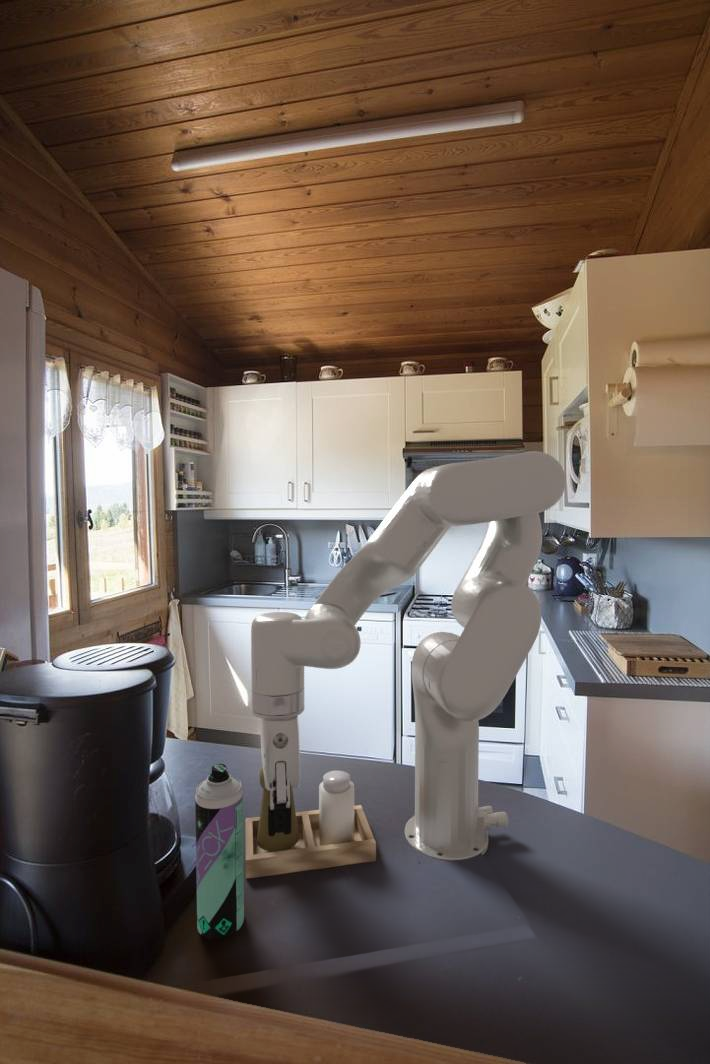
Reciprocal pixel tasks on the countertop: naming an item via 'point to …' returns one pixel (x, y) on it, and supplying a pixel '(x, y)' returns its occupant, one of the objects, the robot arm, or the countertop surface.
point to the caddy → (309, 847)
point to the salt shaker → (336, 809)
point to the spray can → (219, 854)
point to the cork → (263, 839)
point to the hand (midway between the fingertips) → (278, 822)
